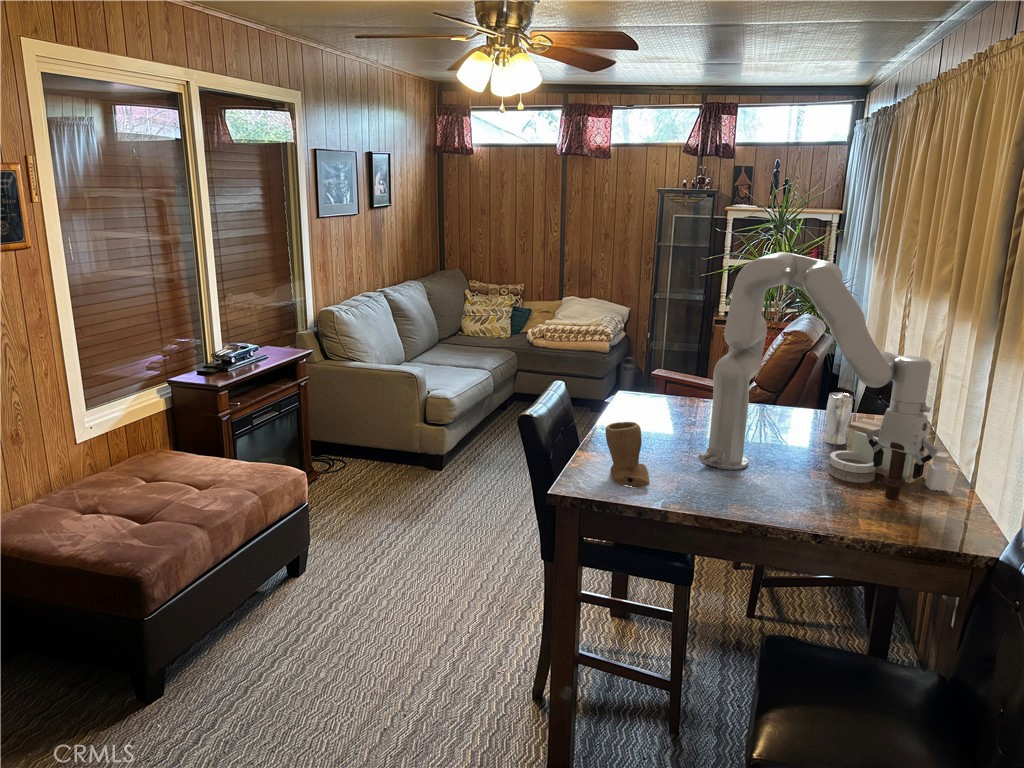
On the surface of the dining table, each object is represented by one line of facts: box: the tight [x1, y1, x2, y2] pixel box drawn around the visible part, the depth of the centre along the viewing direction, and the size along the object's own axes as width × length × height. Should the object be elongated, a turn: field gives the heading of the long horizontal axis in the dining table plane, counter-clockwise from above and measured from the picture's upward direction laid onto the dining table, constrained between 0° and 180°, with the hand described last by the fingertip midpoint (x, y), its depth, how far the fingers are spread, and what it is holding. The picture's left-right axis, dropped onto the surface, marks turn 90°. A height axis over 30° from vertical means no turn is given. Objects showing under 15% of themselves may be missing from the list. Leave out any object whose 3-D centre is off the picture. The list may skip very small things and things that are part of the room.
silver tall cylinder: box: [823, 392, 854, 446], centre depth 224 cm, size 7×7×15 cm
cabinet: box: [827, 418, 933, 484], centre depth 198 cm, size 21×19×12 cm
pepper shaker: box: [924, 451, 950, 492], centre depth 190 cm, size 4×4×10 cm
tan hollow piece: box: [605, 421, 650, 488], centre depth 192 cm, size 15×12×15 cm
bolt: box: [883, 442, 907, 500], centre depth 183 cm, size 6×5×15 cm
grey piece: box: [828, 431, 913, 477], centre depth 195 cm, size 12×18×8 cm, turn 30°
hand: (896, 471), depth 183 cm, fingers open, 9 cm apart
